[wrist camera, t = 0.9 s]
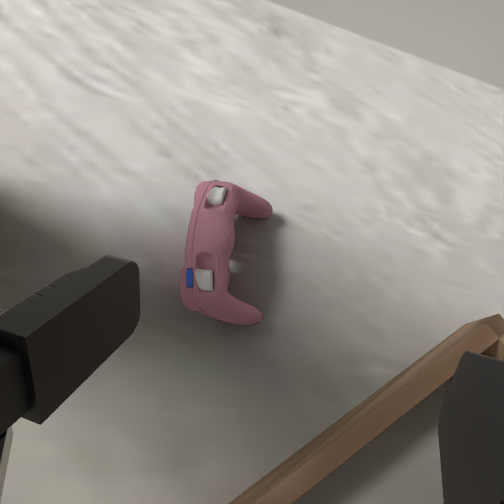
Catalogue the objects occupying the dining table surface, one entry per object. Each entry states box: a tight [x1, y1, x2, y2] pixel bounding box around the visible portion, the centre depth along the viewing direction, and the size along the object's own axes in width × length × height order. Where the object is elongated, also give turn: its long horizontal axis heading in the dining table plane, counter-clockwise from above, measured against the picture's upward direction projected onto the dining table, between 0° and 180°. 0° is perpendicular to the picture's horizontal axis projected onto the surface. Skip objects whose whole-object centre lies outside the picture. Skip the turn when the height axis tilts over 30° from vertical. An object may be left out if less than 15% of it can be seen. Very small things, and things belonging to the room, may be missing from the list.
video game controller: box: [179, 180, 272, 325], centre depth 30 cm, size 10×5×7 cm, turn 174°
